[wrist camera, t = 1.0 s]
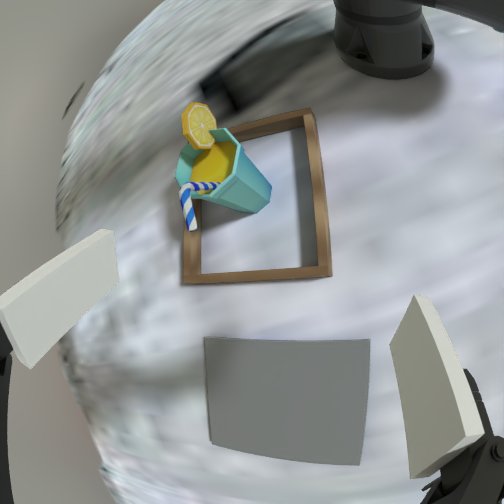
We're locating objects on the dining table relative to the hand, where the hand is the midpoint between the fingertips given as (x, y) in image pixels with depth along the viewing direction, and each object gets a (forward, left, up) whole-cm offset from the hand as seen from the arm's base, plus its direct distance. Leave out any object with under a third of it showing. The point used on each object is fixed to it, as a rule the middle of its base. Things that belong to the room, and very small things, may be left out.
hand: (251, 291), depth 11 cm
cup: (-11, -9, -21) cm, 25 cm away
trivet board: (+14, -6, -20) cm, 25 cm away
